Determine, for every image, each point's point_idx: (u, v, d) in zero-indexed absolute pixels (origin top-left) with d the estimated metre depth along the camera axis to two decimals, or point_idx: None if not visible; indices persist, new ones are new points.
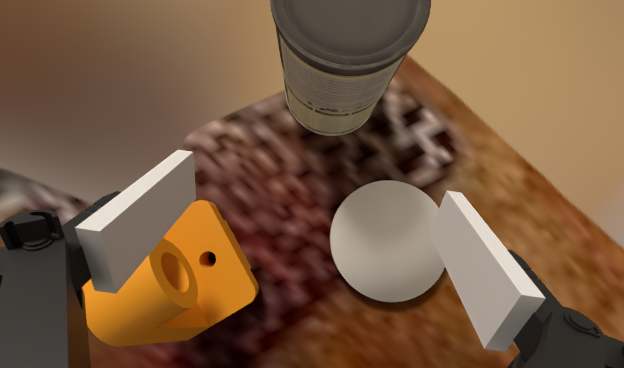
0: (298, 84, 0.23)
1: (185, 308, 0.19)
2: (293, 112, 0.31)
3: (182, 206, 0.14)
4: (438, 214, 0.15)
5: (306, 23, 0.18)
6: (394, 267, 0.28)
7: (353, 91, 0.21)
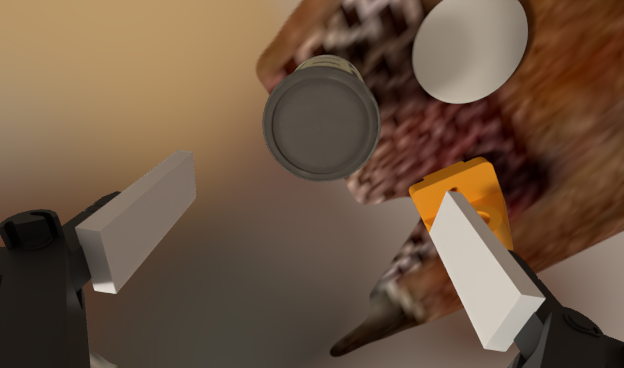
0: None
1: (502, 217, 0.32)
2: None
3: (182, 206, 0.14)
4: (438, 214, 0.15)
5: (342, 159, 0.26)
6: (494, 46, 0.32)
7: None
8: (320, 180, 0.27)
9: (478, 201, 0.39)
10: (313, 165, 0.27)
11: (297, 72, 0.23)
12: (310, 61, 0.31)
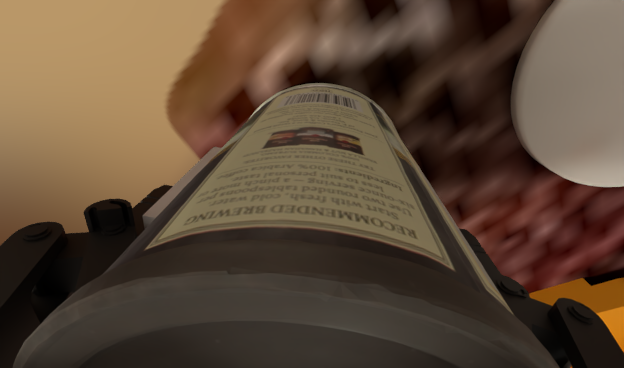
0: None
1: None
2: None
3: None
4: None
5: None
6: None
7: None
8: None
9: None
10: None
11: (115, 298, 0.03)
12: (273, 111, 0.11)
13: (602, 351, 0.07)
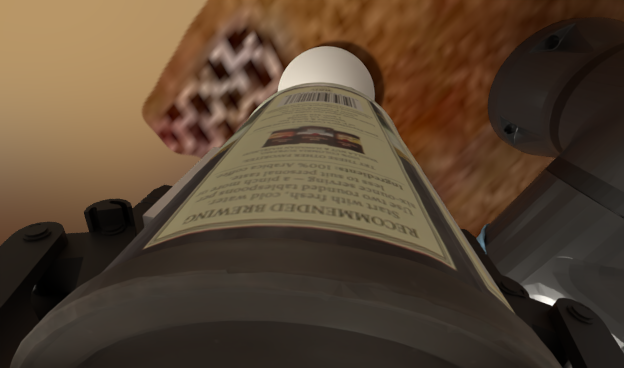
0: None
1: None
2: None
3: None
4: None
5: None
6: None
7: None
8: None
9: None
10: None
11: (113, 298, 0.03)
12: (273, 110, 0.11)
13: (601, 350, 0.07)
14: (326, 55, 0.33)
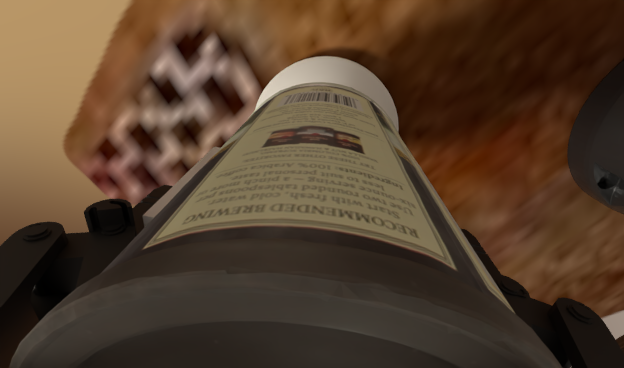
0: None
1: None
2: None
3: None
4: None
5: None
6: None
7: None
8: None
9: None
10: None
11: (112, 298, 0.03)
12: (273, 110, 0.11)
13: (602, 351, 0.07)
14: (325, 71, 0.22)
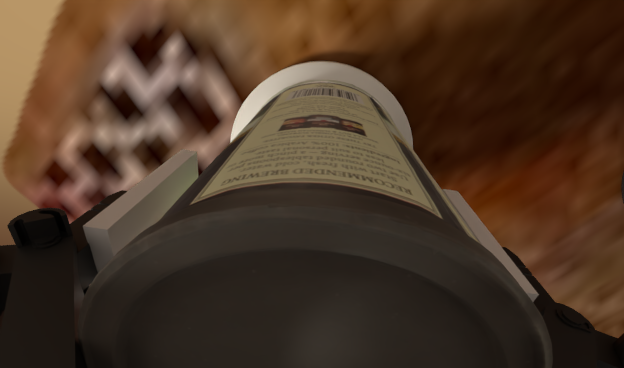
0: None
1: None
2: None
3: None
4: None
5: None
6: None
7: None
8: None
9: None
10: None
11: (179, 230, 0.05)
12: (282, 103, 0.12)
13: None
14: None
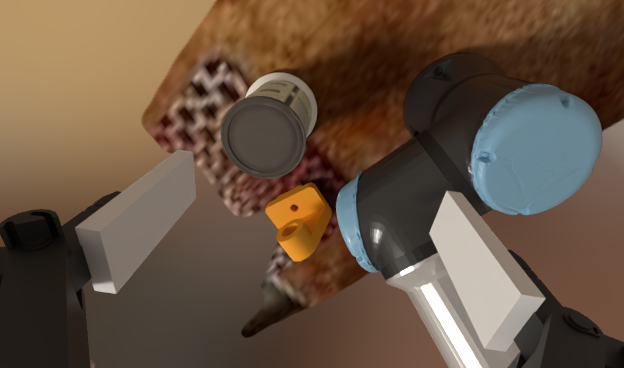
0: None
1: (302, 227, 0.47)
2: None
3: (182, 206, 0.14)
4: (438, 214, 0.15)
5: (281, 161, 0.36)
6: None
7: (306, 127, 0.37)
8: (266, 177, 0.37)
9: (311, 214, 0.54)
10: (260, 166, 0.36)
11: (242, 101, 0.32)
12: (262, 86, 0.40)
13: None
14: None
